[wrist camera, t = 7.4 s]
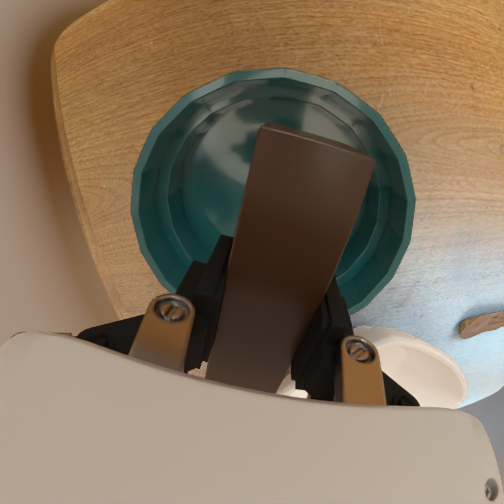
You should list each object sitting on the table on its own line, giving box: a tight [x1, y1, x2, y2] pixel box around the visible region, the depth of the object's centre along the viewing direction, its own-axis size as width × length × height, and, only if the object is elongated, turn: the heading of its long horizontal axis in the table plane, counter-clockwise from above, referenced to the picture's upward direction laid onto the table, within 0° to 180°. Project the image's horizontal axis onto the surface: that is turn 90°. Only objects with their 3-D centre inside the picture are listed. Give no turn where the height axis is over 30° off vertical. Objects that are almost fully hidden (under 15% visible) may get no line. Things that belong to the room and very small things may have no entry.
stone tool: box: [459, 311, 504, 339], centre depth 25 cm, size 5×2×15 cm
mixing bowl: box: [131, 68, 416, 316], centre depth 19 cm, size 17×17×6 cm
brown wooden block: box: [205, 122, 376, 394], centre depth 11 cm, size 12×3×4 cm, turn 167°
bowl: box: [276, 325, 467, 409], centre depth 26 cm, size 21×21×9 cm
